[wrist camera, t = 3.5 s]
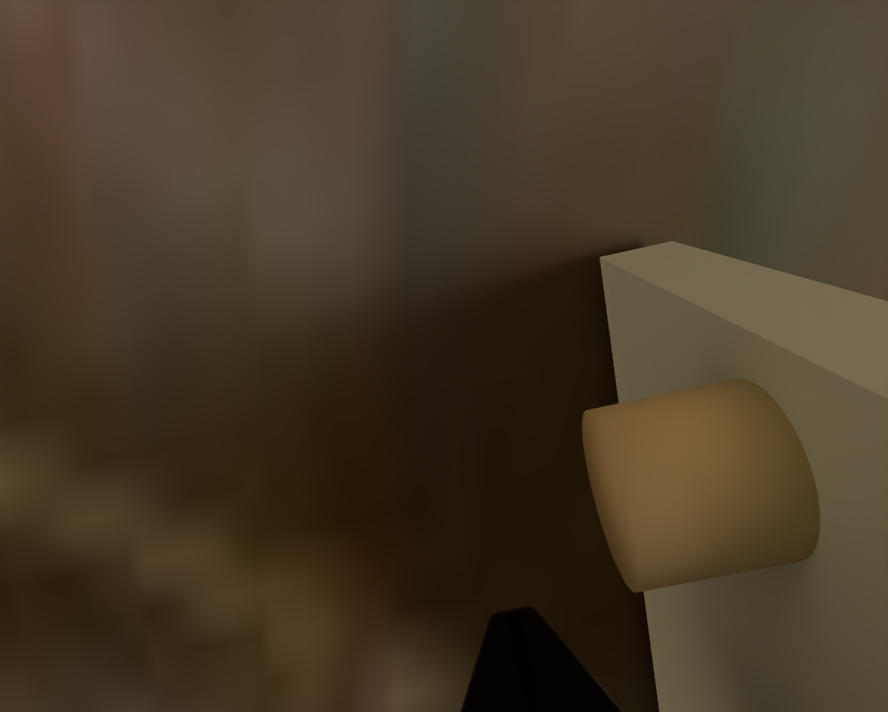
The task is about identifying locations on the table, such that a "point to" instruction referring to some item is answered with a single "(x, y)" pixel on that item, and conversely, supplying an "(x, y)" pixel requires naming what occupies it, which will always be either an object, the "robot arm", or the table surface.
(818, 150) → the table surface
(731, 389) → the cabinet door
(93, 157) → the table surface
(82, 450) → the table surface
